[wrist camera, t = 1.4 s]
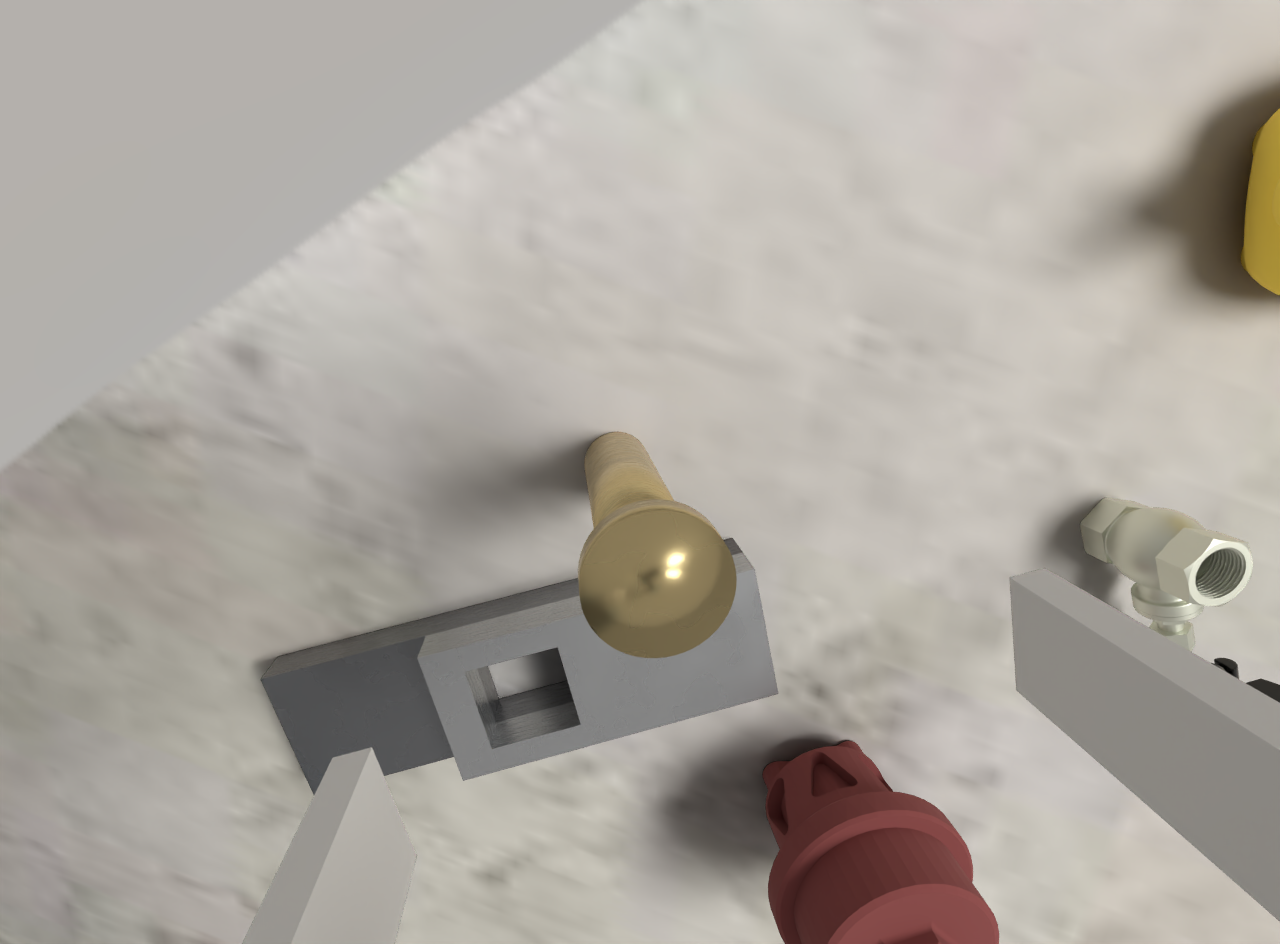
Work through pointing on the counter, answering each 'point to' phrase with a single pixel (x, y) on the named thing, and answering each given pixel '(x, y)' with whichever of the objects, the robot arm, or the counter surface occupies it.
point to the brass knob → (648, 558)
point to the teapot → (1264, 208)
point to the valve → (1169, 564)
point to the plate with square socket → (516, 725)
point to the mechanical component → (866, 859)
